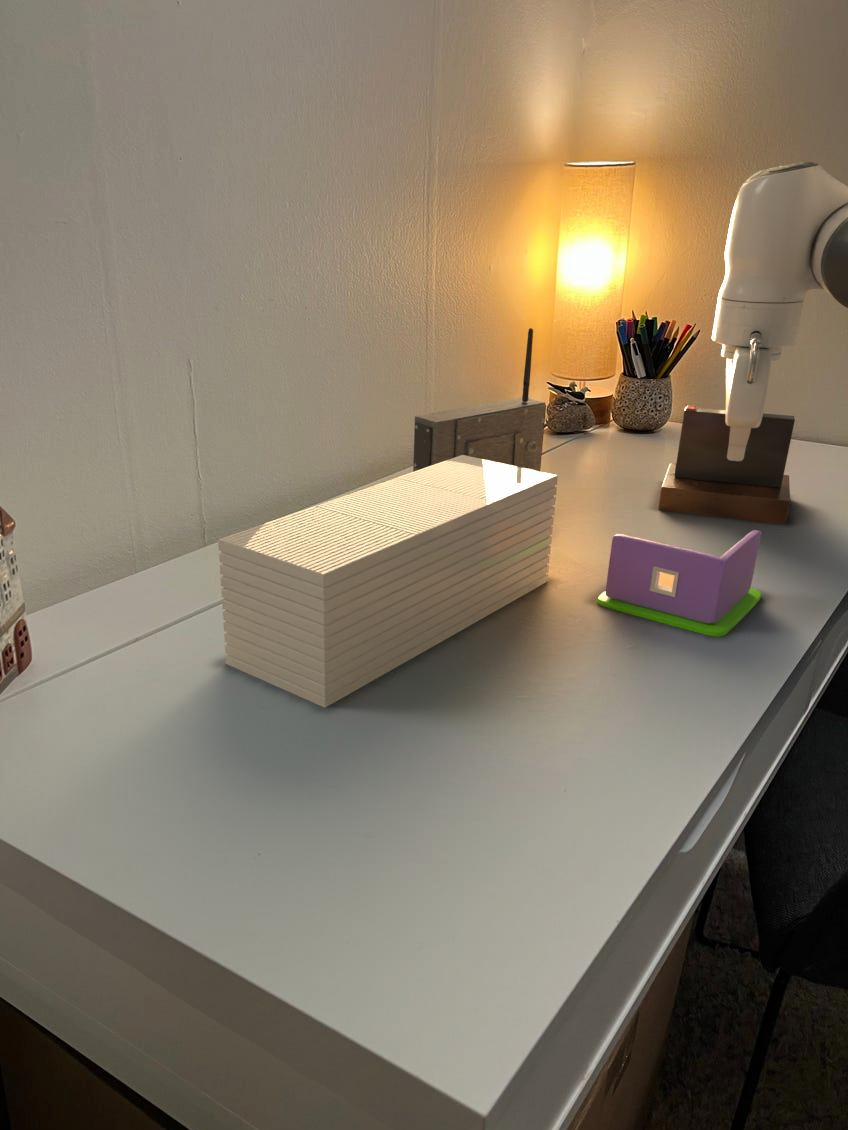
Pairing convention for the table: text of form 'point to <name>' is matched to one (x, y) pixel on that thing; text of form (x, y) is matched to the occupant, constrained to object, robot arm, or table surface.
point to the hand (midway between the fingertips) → (734, 449)
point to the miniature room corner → (682, 583)
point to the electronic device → (485, 430)
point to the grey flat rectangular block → (709, 445)
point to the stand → (725, 498)
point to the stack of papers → (382, 573)
